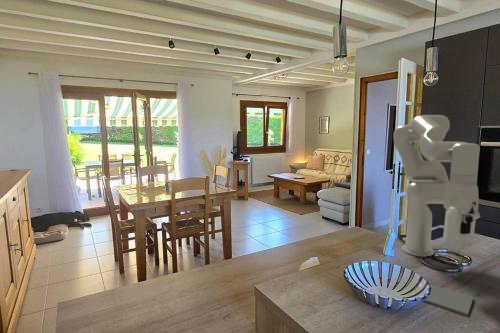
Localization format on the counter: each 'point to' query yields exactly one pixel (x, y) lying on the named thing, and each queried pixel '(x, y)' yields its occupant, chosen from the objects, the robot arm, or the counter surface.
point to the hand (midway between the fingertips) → (458, 230)
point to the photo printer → (456, 226)
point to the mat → (450, 300)
